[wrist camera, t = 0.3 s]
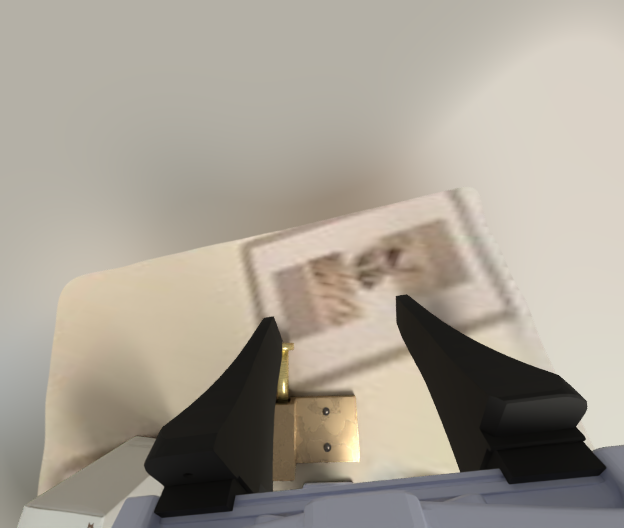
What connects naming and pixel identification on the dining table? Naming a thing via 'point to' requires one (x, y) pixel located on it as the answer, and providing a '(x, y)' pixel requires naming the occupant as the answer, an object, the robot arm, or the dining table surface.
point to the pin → (284, 374)
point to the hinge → (314, 433)
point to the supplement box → (95, 490)
